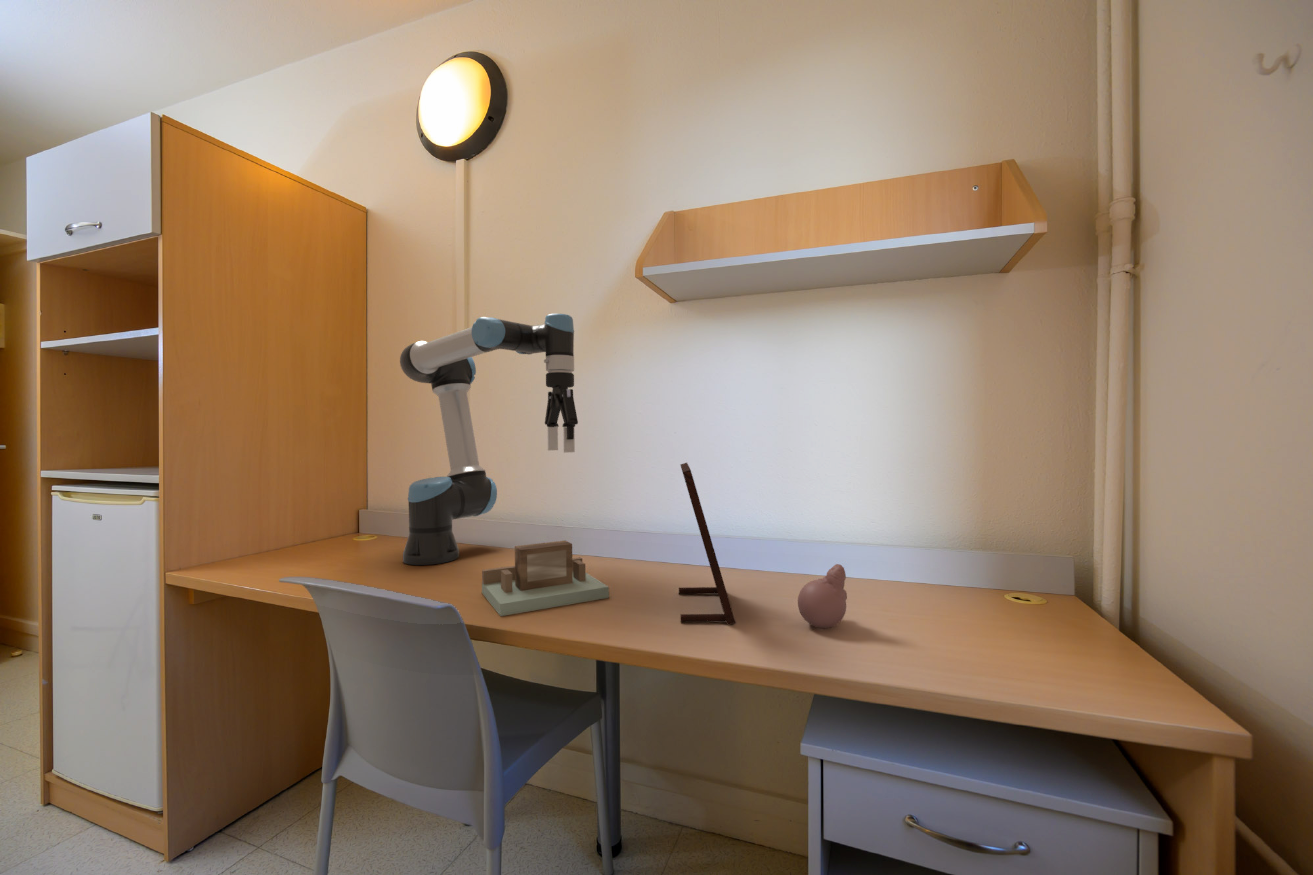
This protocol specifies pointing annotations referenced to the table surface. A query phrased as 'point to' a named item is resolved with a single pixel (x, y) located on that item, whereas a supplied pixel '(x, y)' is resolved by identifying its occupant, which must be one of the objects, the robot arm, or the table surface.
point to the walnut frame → (543, 565)
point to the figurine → (824, 599)
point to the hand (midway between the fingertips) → (560, 451)
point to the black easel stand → (712, 560)
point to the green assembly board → (539, 590)
